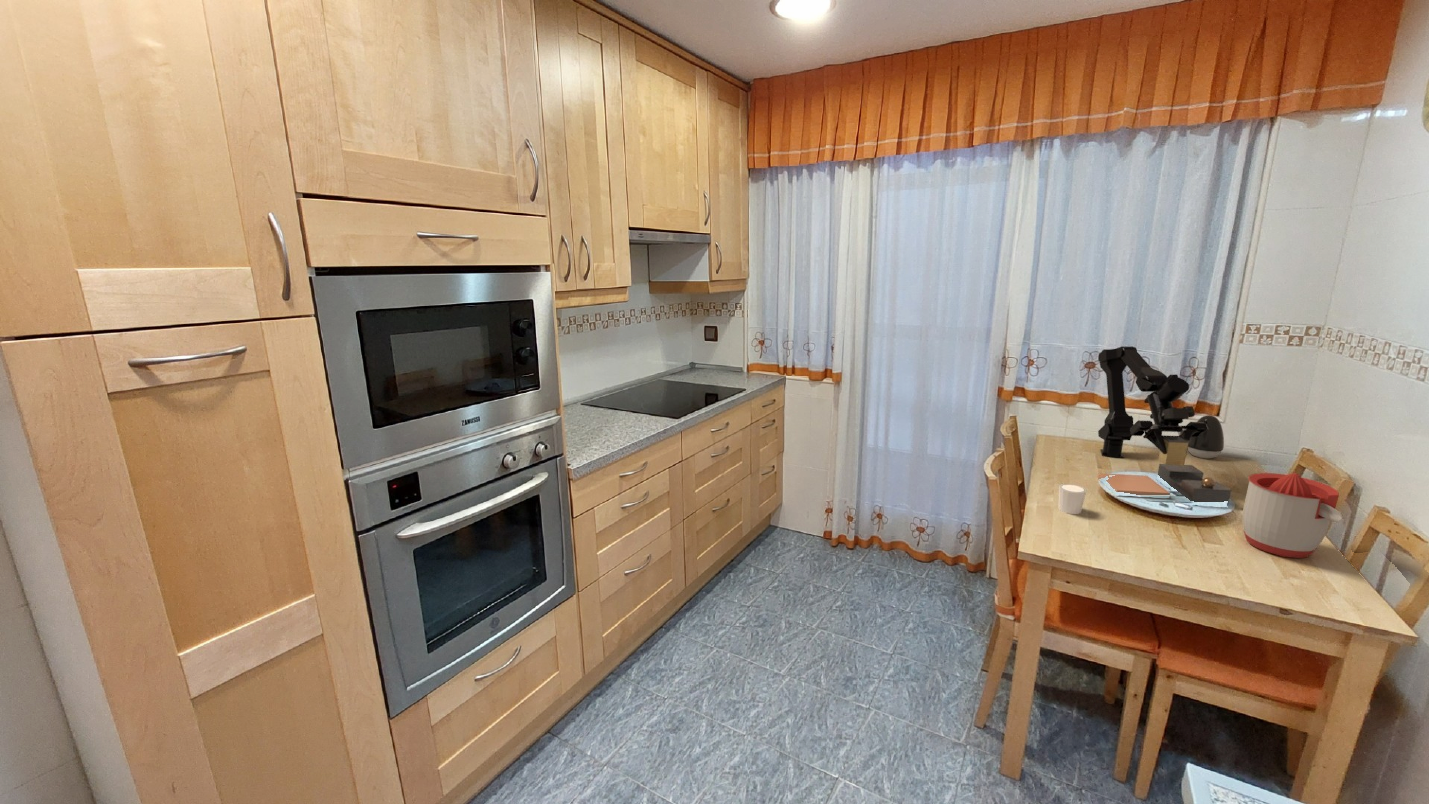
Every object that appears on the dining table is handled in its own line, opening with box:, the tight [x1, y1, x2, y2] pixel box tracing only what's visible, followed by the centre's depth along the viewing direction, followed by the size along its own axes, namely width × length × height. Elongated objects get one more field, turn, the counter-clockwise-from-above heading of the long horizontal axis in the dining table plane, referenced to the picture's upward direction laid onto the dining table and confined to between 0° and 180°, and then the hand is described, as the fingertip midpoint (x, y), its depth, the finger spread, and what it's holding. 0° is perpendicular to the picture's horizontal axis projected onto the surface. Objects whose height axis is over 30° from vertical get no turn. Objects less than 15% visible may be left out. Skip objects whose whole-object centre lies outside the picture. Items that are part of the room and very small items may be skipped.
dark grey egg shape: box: [1187, 415, 1225, 460], centre depth 201 cm, size 10×10×15 cm
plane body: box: [1157, 463, 1232, 503], centre depth 173 cm, size 20×9×8 cm, turn 166°
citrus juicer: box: [1242, 472, 1343, 559], centre depth 139 cm, size 16×17×20 cm
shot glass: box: [1058, 483, 1087, 515], centre depth 165 cm, size 7×7×7 cm
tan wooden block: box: [1158, 434, 1189, 465], centre depth 172 cm, size 4×5×8 cm
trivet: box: [1097, 472, 1171, 495], centre depth 178 cm, size 14×14×2 cm
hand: (1175, 453), depth 171 cm, fingers closed on tan wooden block, 5 cm apart
